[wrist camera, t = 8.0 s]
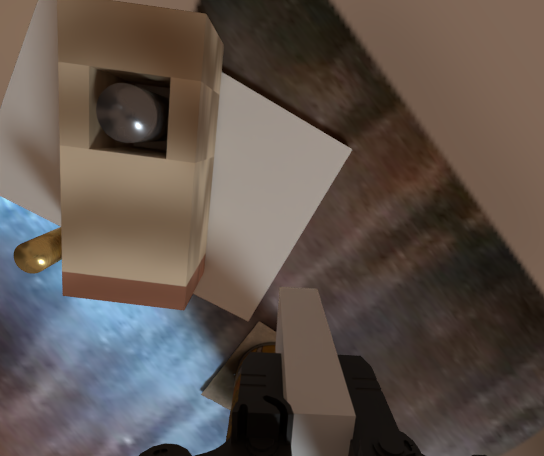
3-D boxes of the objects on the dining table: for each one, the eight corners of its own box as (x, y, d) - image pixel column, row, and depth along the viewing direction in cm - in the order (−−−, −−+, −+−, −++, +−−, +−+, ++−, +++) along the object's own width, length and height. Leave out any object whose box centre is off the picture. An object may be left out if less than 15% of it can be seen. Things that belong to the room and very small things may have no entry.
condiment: (330, 366, 30) (366, 514, 18) (270, 433, 31) (268, 608, 20) (259, 319, 29) (249, 445, 17) (201, 391, 30) (156, 550, 19)
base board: (-17, 181, 26) (-26, 182, 25) (56, -25, 23) (48, -31, 22) (248, 316, 28) (248, 321, 28) (349, 149, 25) (352, 149, 24)
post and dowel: (79, 230, 27) (6, 265, 19) (144, 82, 24) (87, 59, 17) (127, 254, 27) (73, 297, 20) (196, 112, 25) (162, 101, 17)
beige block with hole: (113, 30, 22) (56, -8, 17) (223, 45, 23) (206, 13, 17) (109, 260, 26) (62, 295, 20) (204, 272, 26) (184, 310, 21)
